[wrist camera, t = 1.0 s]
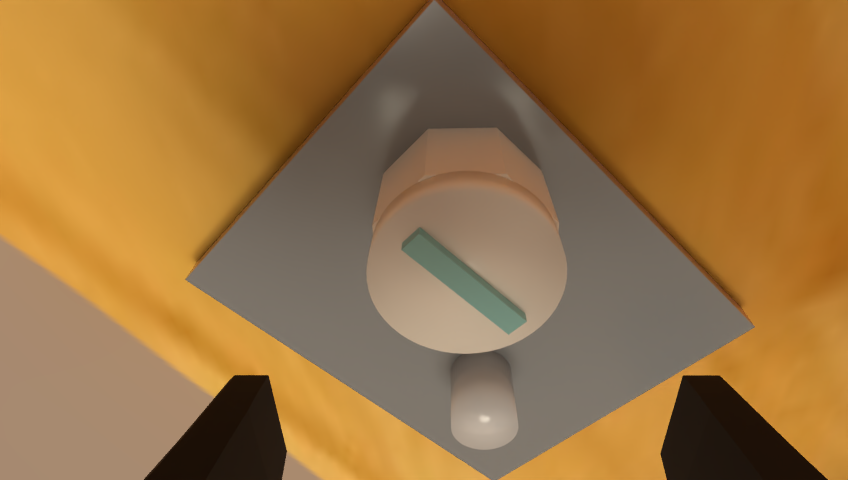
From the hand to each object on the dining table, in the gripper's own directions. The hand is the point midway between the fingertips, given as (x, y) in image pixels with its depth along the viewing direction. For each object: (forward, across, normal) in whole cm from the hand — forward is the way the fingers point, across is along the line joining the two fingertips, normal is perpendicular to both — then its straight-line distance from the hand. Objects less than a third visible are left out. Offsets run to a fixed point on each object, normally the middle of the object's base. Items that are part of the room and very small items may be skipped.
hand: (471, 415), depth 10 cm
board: (+9, 0, +4) cm, 10 cm away
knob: (+8, 0, 0) cm, 8 cm away
